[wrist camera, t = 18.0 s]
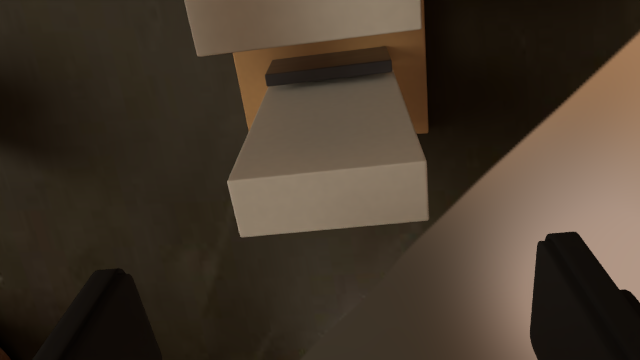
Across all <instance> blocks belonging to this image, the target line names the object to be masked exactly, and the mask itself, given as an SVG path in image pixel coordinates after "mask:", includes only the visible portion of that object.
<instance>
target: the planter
mask: <svg viewBox="0 0 640 360" xmlns="http://www.w3.org/2000/svg"><path fill="white" fill-rule="evenodd" d="M0 360H11V359H10V357H9V356H8V355H7V354H6V353H5V352H4V351H3V350H2V349H1V348H0Z"/></svg>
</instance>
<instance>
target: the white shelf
mask: <svg viewBox="0 0 640 360" xmlns="http://www.w3.org/2000/svg"><path fill="white" fill-rule="evenodd" d="M184 2H185V6H186V10H187V14H188V19H189V23H190V27H191V31H192V35H193V40H194V44H195V48H196V52H197V56H198V57H202V56H211V55H219V54H227V53H233V57H234V61H235V66H236V71H237V76H238V81H239V86H240V91H241V96H242V100H243V105H244V110H245V115H246V120H247V125H248V130H250V128H251V126H252V123H253V121H254V119H255V117H256V114H257V112H258V110H259V107H260V105H261V103H262V100H263V98H264V96H265V94H266V91H267V89H268V87H269V86H278V85H286V84H295V83H303V82H312V81H320V80H329V79H338V78H346V77H355V76H363V75H372V74H380V73H389V72H392V68H393V71H394V74H395V77H396V79H397V82H398V85H399V88H400V90H401V93H402V96H403V99H404V101H405V104H406V107H407V109H408V112H409V115H410V118H411V120H412V123H413V126H414V129H415V131H416V134H422V133H428V104H427V75H426V46H425V16H424V0H184Z"/></svg>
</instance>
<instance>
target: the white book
mask: <svg viewBox="0 0 640 360" xmlns="http://www.w3.org/2000/svg"><path fill="white" fill-rule="evenodd" d="M227 183H228V187H229V191H230V195H231V200H232V204H233V208H234V212H235V216H236V221H237V225H238V229H239V233H240V236H241V237H251V236H262V235H273V234H284V233H295V232H306V231H317V230H328V229H339V228H350V227H361V226H372V225H383V224H394V223H405V222H416V221H427V220H428V219H429V210H428V183H427V161H426V159H425V156H424V153H423V150H422V148H421V145H420V142H419V140H418V137H417V134H416V131H415V129H414V126H413V123H412V120H411V118H410V115H409V112H408V109H407V107H406V104H405V101H404V99H403V96H402V93H401V90H400V88H399V85H398V82H397V79H396V77H395V74H394V71H393V68H392V72H389V73H380V74H372V75H363V76H355V77H346V78H338V79H329V80H320V81H312V82H303V83H295V84H286V85H278V86H269V87H268V89H267V91H266V94H265V96H264V98H263V100H262V103H261V105H260V107H259V110H258V112H257V114H256V117H255V119H254V121H253V123H252V126H251V128H250V130H249V133H248V135H247V137H246V140H245V142H244V144H243V147H242V149H241V151H240V153H239V156H238V158H237V160H236V163H235V165H234V167H233V170H232V172H231V174H230V177H229V179H228V181H227Z"/></svg>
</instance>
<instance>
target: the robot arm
mask: <svg viewBox="0 0 640 360" xmlns="http://www.w3.org/2000/svg"><path fill="white" fill-rule="evenodd" d="M530 339H531V343H532V347H533V349H534V352H535V354H536V356H537V359H538V360H640V303H639V301H638V300H637V299H636V297H635V296H634V295H633V294H632V293H631V292H629V291H627V290H619V289H618V287H617V286H616V284H615V283H614V282H613V280H612V279H611V278H610V276H609V275H608V274H607V272H606V271H605V270H604V268H603V267H602V265H601V264H600V263H599V261H598V260H597V259H596V257H595V256H594V255H593V253H592V252H591V251H590V249H589V248H588V246H587V245H586V244H585V242H584V241H583V240H582V238H581V237H580V235H579V234H578V233H576V232H565V233H552V234H548V235H547V236H546V239H545V241H539V242H538V245H537V254H536V266H535V277H534V289H533V301H532V314H531V325H530ZM32 360H162V355H161V352H160V349H159V347H158V344H157V341H156V339H155V336H154V333H153V331H152V328H151V325H150V323H149V320H148V317H147V315H146V312H145V309H144V307H143V304H142V301H141V299H140V296H139V293H138V291H137V288H136V285H135V283H134V280H133V278H132V276H131V275H130V274H126V273H125V272H124V271H123V270H122V269H119V268H118V269H106V270H97V271H95V272H94V273H93V274H92V275H91V277H90V278H89V279H88V281H87V282H86V284H85V285H84V287H83V288H82V289H81V291H80V292H79V294H78V295H77V297H76V298H75V299H74V301H73V302H72V304H71V305H70V306H69V308H68V309H67V311H66V312H65V314H64V315H63V316H62V318H61V319H60V321H59V322H58V324H57V325H56V326H55V328H54V329H53V331H52V332H51V334H50V335H49V336H48V338H47V339H46V341H45V342H44V343H43V345H42V346H41V348H40V349H39V351H38V352H37V353H36V355H35V356H34V358H33V359H32Z"/></svg>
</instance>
